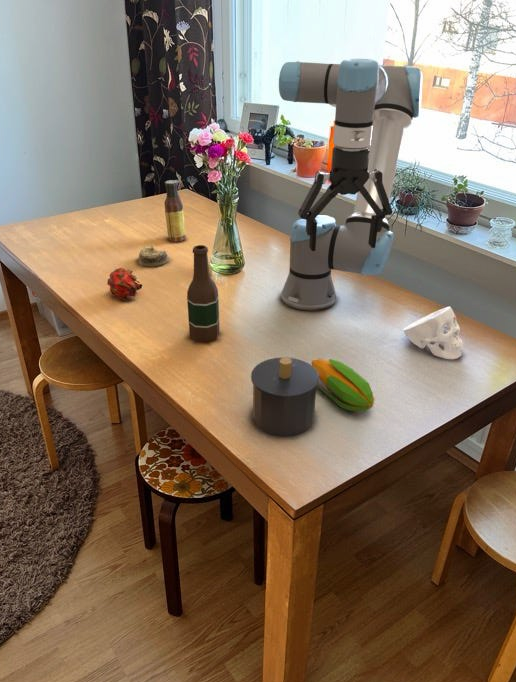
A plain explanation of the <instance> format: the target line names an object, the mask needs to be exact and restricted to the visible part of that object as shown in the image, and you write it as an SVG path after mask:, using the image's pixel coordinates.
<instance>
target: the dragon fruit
mask: <svg viewBox="0 0 516 682" xmlns="http://www.w3.org/2000/svg"><path fill="white" fill-rule="evenodd" d="M106 284H107V286H109V291H110V293H111V295H112V296H117V297H118V298H120V299H121V300H123V301H130V299H129V297H136V296H137V294H138V292H137V291H139V290H141V289H142V288H143V283H140V281H138V280H137V277H136V275H134V274H133V270H131V269H126V268H124V267H119V268H115V269H113V271H112V272H110V274H109V278H107V283H106Z"/></svg>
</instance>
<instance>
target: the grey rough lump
mask: <svg viewBox="0 0 516 682" xmlns="http://www.w3.org/2000/svg"><path fill="white" fill-rule="evenodd" d="M169 261H170V257H169V256H168V253H167V250H165V249H160V250H157V249H155V247H154V245H150V246H145V247H143V248H141V250H140V251H139V253H138V261H137V262H138V265H140V266H142V267H147V268H151V267H159V266H162V265H165V264H166V263H168V262H169Z"/></svg>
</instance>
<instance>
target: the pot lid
mask: <svg viewBox="0 0 516 682" xmlns="http://www.w3.org/2000/svg"><path fill="white" fill-rule="evenodd" d="M250 380H251V383H252V386H253V385H254V386H255V387H256V388H257V389H258V390H259V391H261V392H262V393H264V394H267V395H270V396H273V397H279V398H294V397H300V396H303V395H306V394H308V393H310V392H311V391H313V390H314V389H315V388H316V389H317V387H318V386H317V385H319V382H320V379H319V374H318V372H317V370H316V369H315V368H314V367H313V366H312V364H310V363H308V362H307V361H304V360H301V359H299V358H295V357H274V358H269V359H266V360H263V361H261V362H259V363H258V364H256V365H255V366H254V368H253V369H252V370H251V373H250Z"/></svg>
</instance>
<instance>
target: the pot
mask: <svg viewBox="0 0 516 682" xmlns="http://www.w3.org/2000/svg"><path fill="white" fill-rule="evenodd" d="M316 396H317V387H316V388H315V389H314V390H313V391H311V392H310V393H308V394H306V395H303V396H300V397H294V398H279V397H273V396H270V395H267V394H264V393H262V392H261V391H259V390H258V389H257V388H256V387H255V386H254V385H253V384H252V415H253V421H254V424H255V425H256V427H257V428H258V429H260V430H261V431H262V432H264V433H267V434H269V435H272V436H277V437H294V436H298V435H301V434H303V433H305V432H306V431H308V430H309V429H310V428H311V426H312V425H313V423H314V418H315V411H316V410H315V409H316V398H317V397H316Z"/></svg>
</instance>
